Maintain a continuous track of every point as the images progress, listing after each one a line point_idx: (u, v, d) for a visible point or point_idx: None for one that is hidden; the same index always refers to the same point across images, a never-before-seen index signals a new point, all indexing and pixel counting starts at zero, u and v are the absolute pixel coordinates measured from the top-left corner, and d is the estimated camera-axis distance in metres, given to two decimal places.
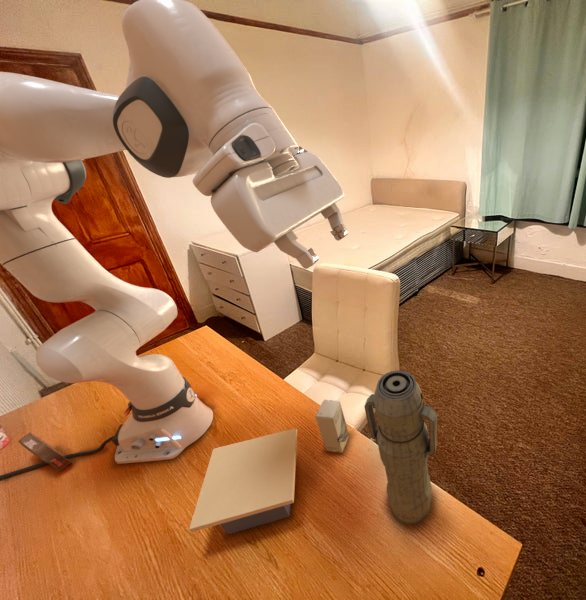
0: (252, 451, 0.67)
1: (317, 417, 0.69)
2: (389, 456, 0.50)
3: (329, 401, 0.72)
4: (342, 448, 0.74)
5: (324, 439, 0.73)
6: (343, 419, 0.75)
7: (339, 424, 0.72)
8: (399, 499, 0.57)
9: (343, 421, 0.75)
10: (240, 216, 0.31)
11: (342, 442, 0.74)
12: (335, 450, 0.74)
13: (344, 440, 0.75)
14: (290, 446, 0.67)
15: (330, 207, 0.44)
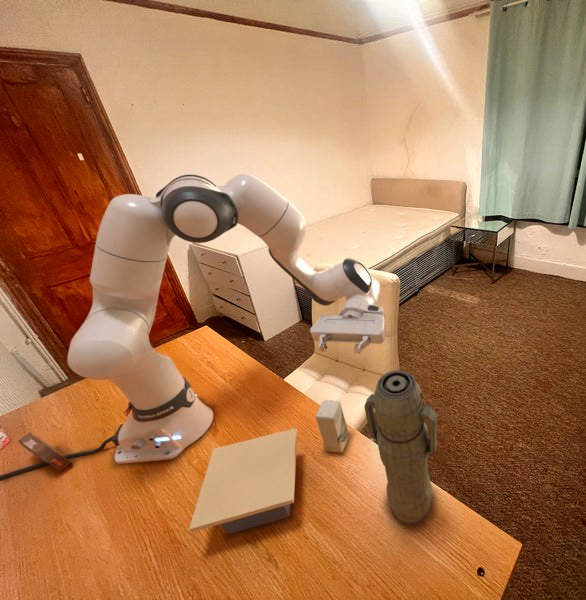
0: (252, 451, 0.67)
1: (317, 417, 0.69)
2: (389, 456, 0.50)
3: (329, 401, 0.72)
4: (342, 448, 0.74)
5: (324, 439, 0.73)
6: (343, 419, 0.75)
7: (339, 424, 0.72)
8: (399, 499, 0.57)
9: (343, 421, 0.75)
10: (385, 331, 0.81)
11: (342, 442, 0.74)
12: (335, 450, 0.74)
13: (344, 440, 0.75)
14: (290, 446, 0.67)
15: (327, 340, 0.81)
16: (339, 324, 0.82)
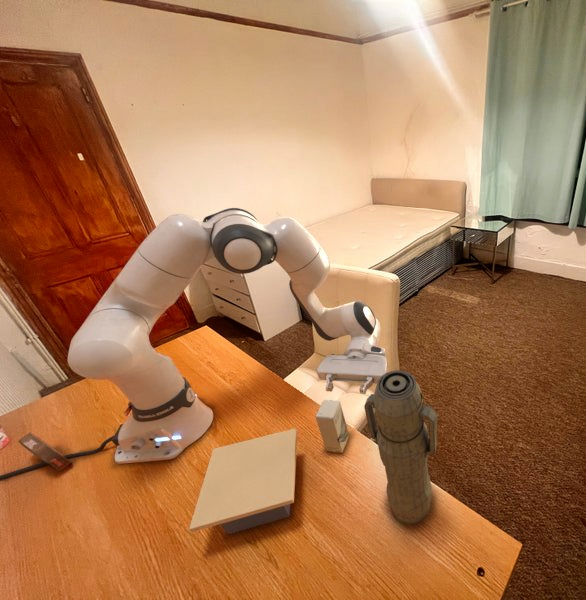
0: (252, 451, 0.67)
1: (317, 417, 0.69)
2: (389, 456, 0.50)
3: (329, 401, 0.72)
4: (342, 448, 0.74)
5: (324, 439, 0.73)
6: (343, 419, 0.75)
7: (339, 424, 0.72)
8: (399, 499, 0.57)
9: (343, 421, 0.75)
10: (387, 372, 0.87)
11: (342, 442, 0.74)
12: (335, 450, 0.74)
13: (344, 440, 0.75)
14: (290, 446, 0.67)
15: (333, 379, 0.87)
16: (344, 364, 0.88)
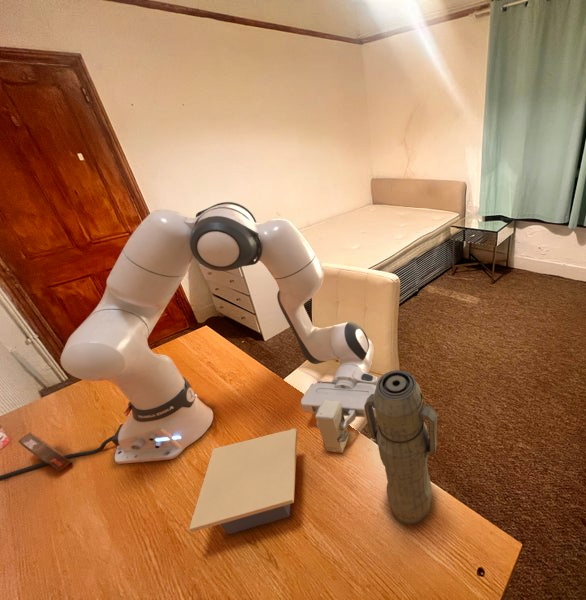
0: (252, 451, 0.67)
1: (317, 417, 0.69)
2: (389, 456, 0.50)
3: (329, 401, 0.72)
4: (342, 448, 0.74)
5: (324, 439, 0.73)
6: (343, 419, 0.75)
7: (339, 424, 0.72)
8: (399, 499, 0.57)
9: None
10: None
11: (342, 442, 0.74)
12: (335, 450, 0.74)
13: (344, 440, 0.75)
14: (290, 446, 0.67)
15: None
16: (331, 395, 0.79)
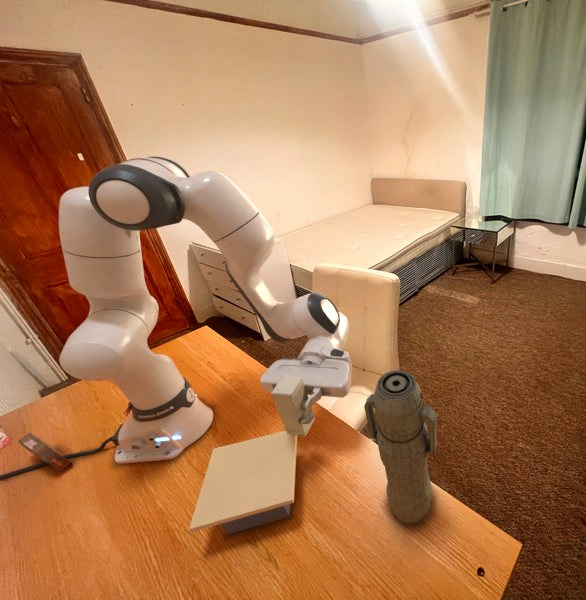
0: (252, 451, 0.67)
1: (273, 394, 0.60)
2: (389, 456, 0.50)
3: (289, 376, 0.63)
4: (305, 431, 0.65)
5: (283, 420, 0.63)
6: (306, 398, 0.65)
7: None
8: (399, 499, 0.57)
9: None
10: (349, 382, 0.69)
11: (305, 425, 0.65)
12: (297, 433, 0.65)
13: (308, 422, 0.66)
14: (290, 446, 0.67)
15: None
16: (295, 372, 0.69)
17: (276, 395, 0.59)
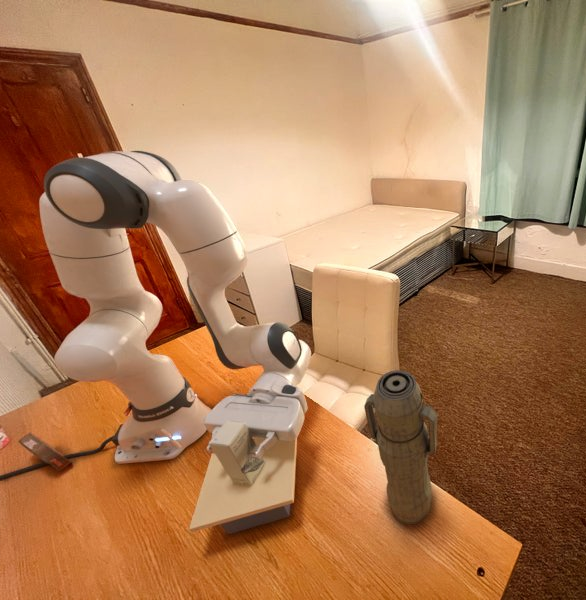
0: None
1: (210, 444, 0.55)
2: (389, 456, 0.50)
3: (231, 422, 0.58)
4: (251, 480, 0.60)
5: (226, 469, 0.59)
6: (252, 444, 0.60)
7: (244, 451, 0.58)
8: (399, 499, 0.57)
9: (252, 446, 0.60)
10: (300, 422, 0.64)
11: (251, 473, 0.60)
12: (242, 482, 0.60)
13: (255, 469, 0.61)
14: (290, 446, 0.67)
15: None
16: (242, 412, 0.64)
17: (214, 445, 0.55)
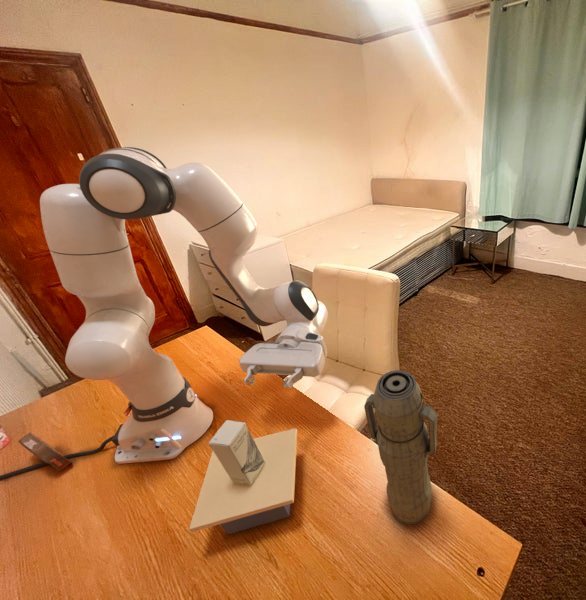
0: None
1: (211, 444, 0.55)
2: (389, 456, 0.50)
3: (231, 422, 0.58)
4: (251, 480, 0.60)
5: (226, 469, 0.59)
6: (252, 444, 0.60)
7: (244, 451, 0.58)
8: (399, 499, 0.57)
9: (252, 446, 0.60)
10: (322, 363, 0.74)
11: (251, 473, 0.60)
12: (242, 482, 0.60)
13: (255, 469, 0.61)
14: (290, 446, 0.67)
15: (257, 371, 0.73)
16: (272, 354, 0.74)
17: (214, 445, 0.55)
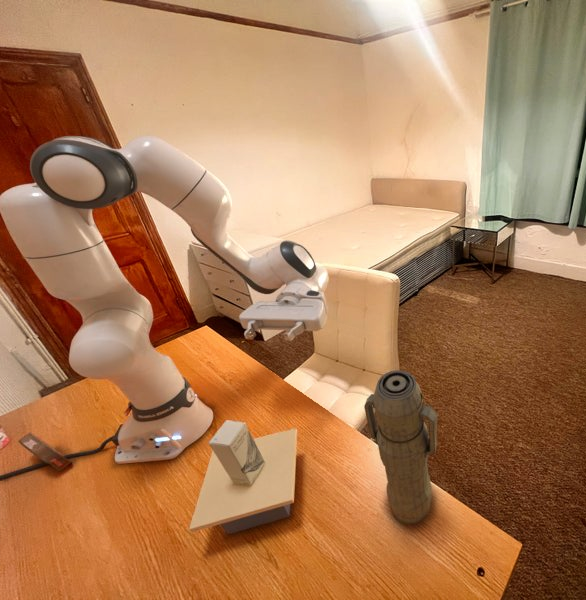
0: None
1: (211, 444, 0.55)
2: (389, 456, 0.50)
3: (232, 422, 0.58)
4: (251, 480, 0.60)
5: (226, 469, 0.59)
6: (252, 444, 0.60)
7: (244, 451, 0.58)
8: (399, 499, 0.57)
9: (252, 446, 0.60)
10: (324, 318, 0.72)
11: (251, 473, 0.60)
12: (242, 482, 0.60)
13: (255, 469, 0.61)
14: (290, 446, 0.67)
15: (258, 327, 0.72)
16: (273, 310, 0.73)
17: (214, 445, 0.55)
